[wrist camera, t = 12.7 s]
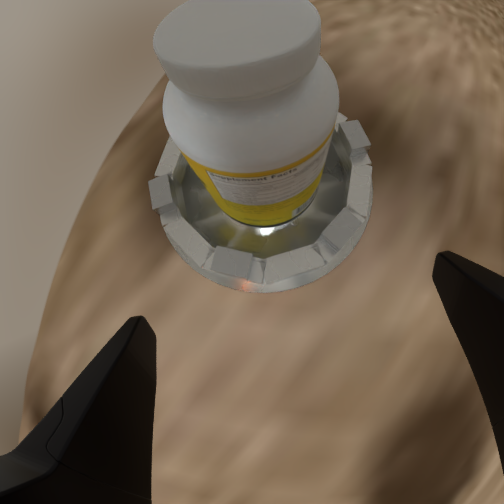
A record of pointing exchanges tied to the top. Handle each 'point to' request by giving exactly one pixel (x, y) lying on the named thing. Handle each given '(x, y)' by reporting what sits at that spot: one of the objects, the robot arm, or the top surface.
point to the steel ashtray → (268, 239)
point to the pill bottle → (249, 103)
